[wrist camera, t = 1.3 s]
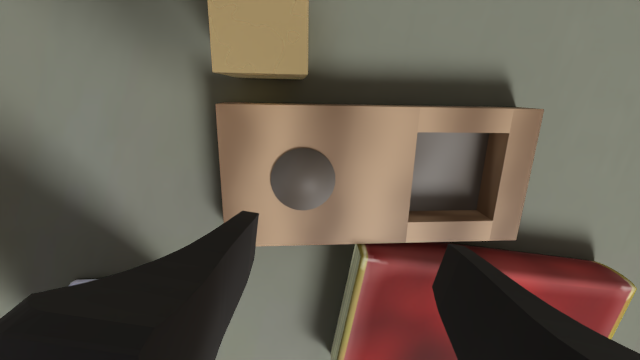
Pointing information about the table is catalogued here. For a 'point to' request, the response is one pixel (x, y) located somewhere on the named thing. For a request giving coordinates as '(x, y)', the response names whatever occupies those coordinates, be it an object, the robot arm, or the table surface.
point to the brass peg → (259, 38)
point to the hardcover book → (421, 310)
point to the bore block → (376, 171)
